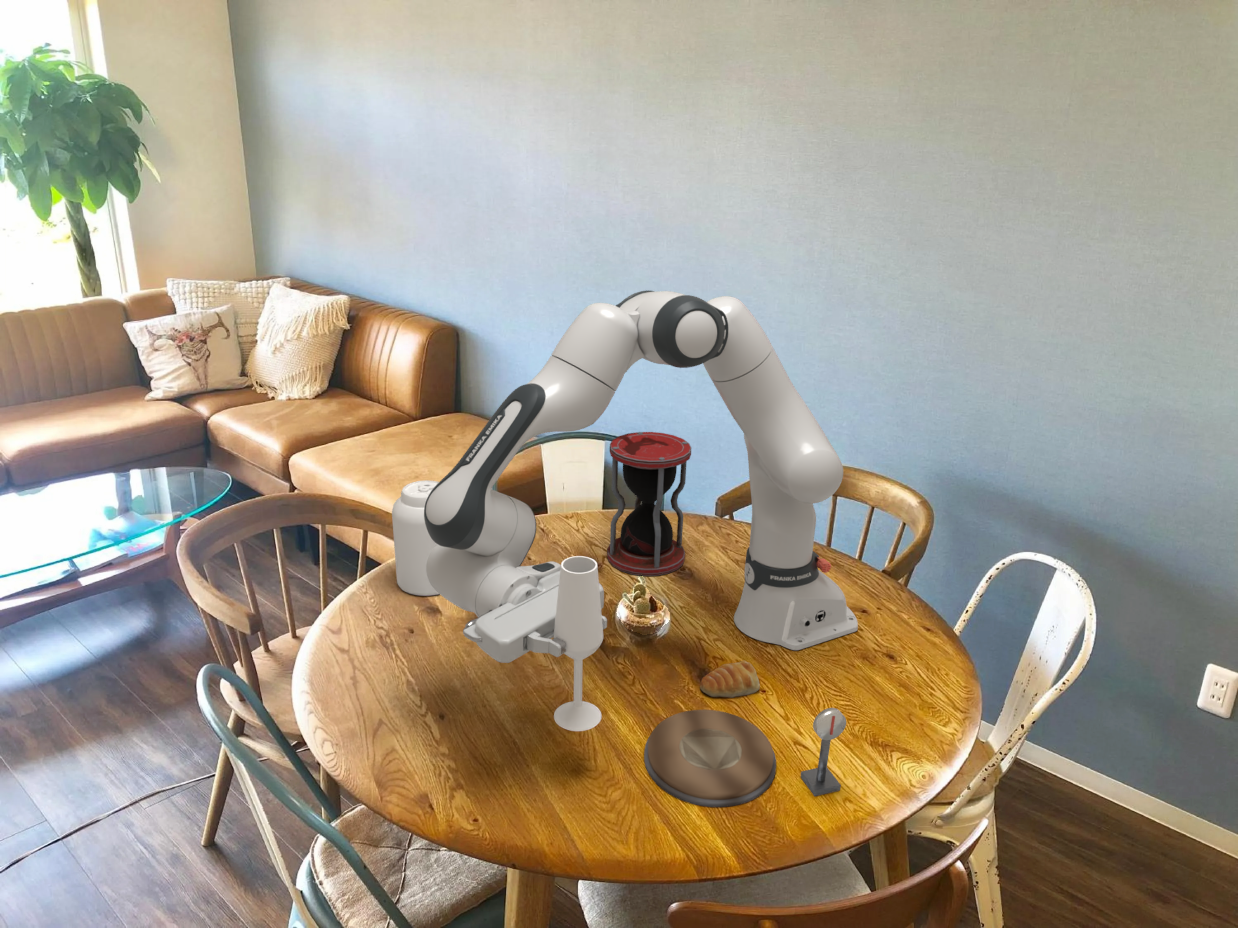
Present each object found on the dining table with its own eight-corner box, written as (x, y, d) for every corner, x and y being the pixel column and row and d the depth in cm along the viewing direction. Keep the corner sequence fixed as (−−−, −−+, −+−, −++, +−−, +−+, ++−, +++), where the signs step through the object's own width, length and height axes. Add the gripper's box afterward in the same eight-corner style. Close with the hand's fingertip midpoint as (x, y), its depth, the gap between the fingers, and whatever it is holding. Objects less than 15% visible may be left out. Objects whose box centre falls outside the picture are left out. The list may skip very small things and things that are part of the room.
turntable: (741, 708, 145) (742, 698, 144) (799, 790, 128) (801, 779, 127) (626, 730, 139) (627, 719, 138) (672, 819, 122) (673, 807, 122)
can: (412, 562, 186) (406, 471, 178) (471, 570, 184) (468, 478, 176) (385, 592, 175) (378, 496, 167) (448, 601, 172) (443, 504, 165)
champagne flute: (545, 722, 127) (544, 570, 118) (566, 695, 133) (567, 548, 124) (589, 736, 125) (591, 582, 116) (609, 708, 131) (613, 558, 121)
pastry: (711, 706, 146) (713, 686, 144) (692, 683, 151) (693, 663, 150) (762, 693, 149) (764, 673, 148) (741, 670, 155) (743, 651, 153)
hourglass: (670, 536, 200) (676, 428, 190) (695, 572, 185) (703, 457, 176) (598, 544, 196) (600, 433, 186) (618, 580, 181) (622, 463, 172)
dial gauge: (826, 771, 132) (836, 697, 127) (841, 790, 128) (852, 715, 124) (799, 777, 131) (808, 703, 126) (813, 796, 127) (823, 721, 122)
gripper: (454, 609, 123) (527, 650, 115) (561, 556, 137) (632, 589, 129) (456, 649, 125) (527, 691, 117) (561, 593, 140) (631, 627, 132)
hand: (583, 637), depth 123 cm, fingers closed on champagne flute, 7 cm apart
